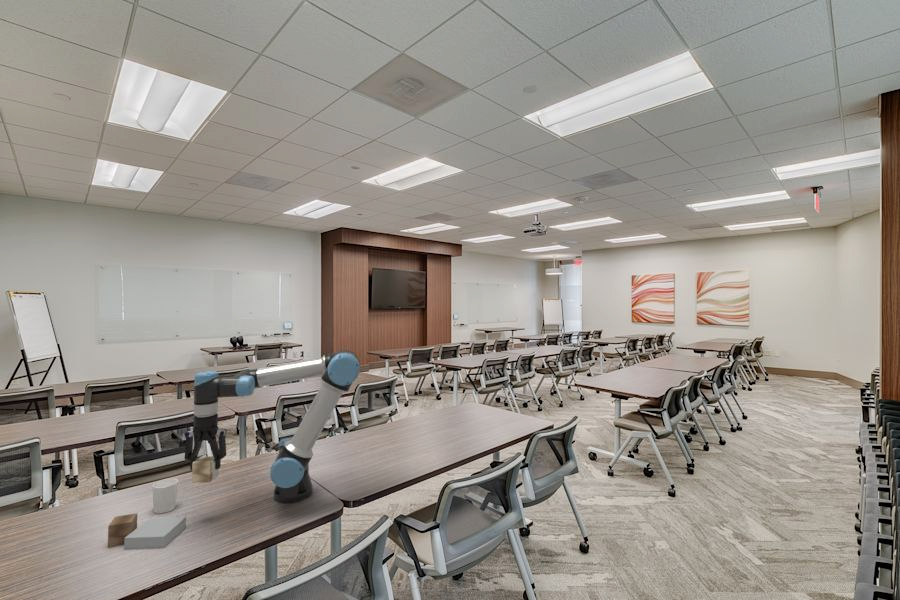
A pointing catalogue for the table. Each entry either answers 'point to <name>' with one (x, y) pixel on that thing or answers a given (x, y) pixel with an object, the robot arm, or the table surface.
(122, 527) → the walnut block
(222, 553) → the table surface
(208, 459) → the maple block
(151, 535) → the grey block
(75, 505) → the table surface
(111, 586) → the table surface
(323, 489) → the table surface
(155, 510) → the white cup
